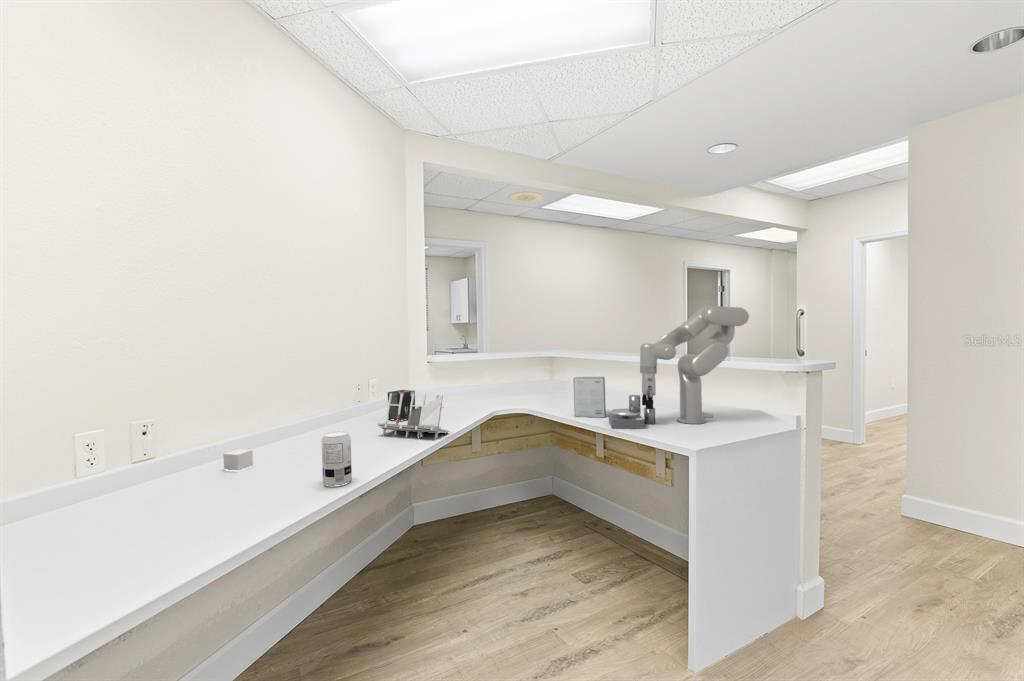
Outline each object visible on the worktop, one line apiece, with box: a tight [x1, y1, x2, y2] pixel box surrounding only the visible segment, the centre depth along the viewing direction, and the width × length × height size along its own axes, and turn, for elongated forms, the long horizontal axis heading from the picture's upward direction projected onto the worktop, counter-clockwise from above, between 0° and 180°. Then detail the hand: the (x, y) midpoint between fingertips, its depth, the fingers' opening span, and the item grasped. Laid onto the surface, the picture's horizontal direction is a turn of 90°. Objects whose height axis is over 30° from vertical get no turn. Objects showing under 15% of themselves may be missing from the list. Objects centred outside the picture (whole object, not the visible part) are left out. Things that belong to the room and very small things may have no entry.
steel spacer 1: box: [628, 394, 641, 412], centre depth 206 cm, size 5×5×7 cm
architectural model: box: [377, 393, 451, 439], centre depth 197 cm, size 20×29×21 cm
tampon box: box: [387, 389, 416, 421], centre depth 235 cm, size 11×9×15 cm
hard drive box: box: [573, 376, 607, 418], centre depth 231 cm, size 16×8×20 cm, turn 74°
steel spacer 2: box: [643, 407, 656, 425], centre depth 210 cm, size 5×5×7 cm
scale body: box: [608, 413, 645, 430], centre depth 207 cm, size 14×14×4 cm
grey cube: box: [223, 448, 254, 470], centre depth 154 cm, size 6×6×6 cm
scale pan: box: [610, 408, 641, 417], centre depth 207 cm, size 13×13×3 cm
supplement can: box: [321, 430, 353, 486], centre depth 137 cm, size 8×8×15 cm
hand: (647, 407), depth 210 cm, fingers open, 9 cm apart
